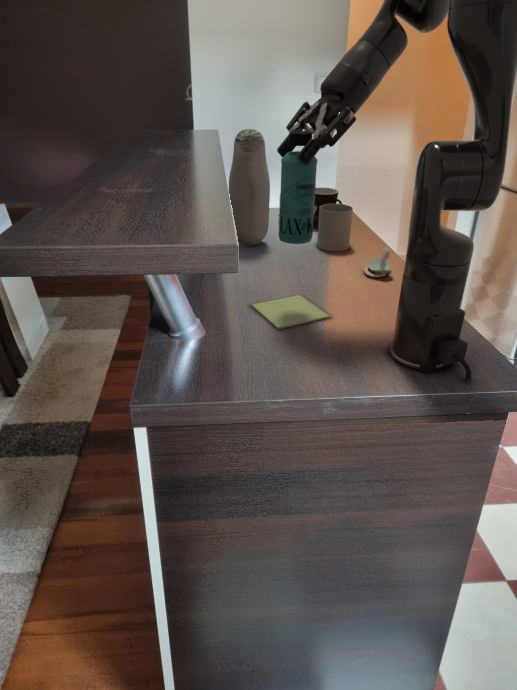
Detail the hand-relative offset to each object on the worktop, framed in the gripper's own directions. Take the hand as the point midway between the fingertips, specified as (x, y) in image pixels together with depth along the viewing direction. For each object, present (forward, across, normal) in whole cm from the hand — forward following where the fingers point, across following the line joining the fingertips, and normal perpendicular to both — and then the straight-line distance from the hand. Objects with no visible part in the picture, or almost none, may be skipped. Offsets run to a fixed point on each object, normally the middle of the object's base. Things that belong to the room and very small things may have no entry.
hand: (290, 157), depth 87 cm
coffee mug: (-6, -44, +46) cm, 64 cm away
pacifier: (0, -7, +40) cm, 40 cm away
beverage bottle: (+10, 0, +12) cm, 16 cm away
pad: (+20, +2, +20) cm, 28 cm away
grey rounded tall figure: (+12, -39, +27) cm, 49 cm away
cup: (-1, -28, +41) cm, 49 cm away
